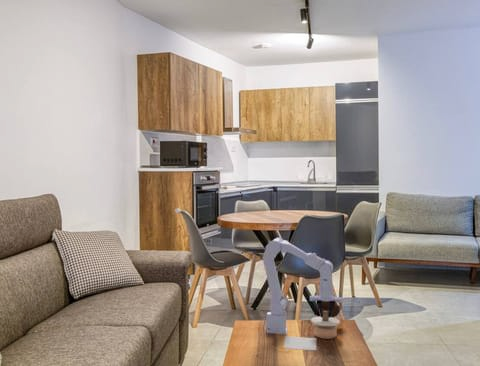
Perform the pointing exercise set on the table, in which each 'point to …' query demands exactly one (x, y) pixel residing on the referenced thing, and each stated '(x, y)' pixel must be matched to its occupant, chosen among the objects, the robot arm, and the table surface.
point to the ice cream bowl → (335, 309)
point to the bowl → (325, 331)
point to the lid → (325, 320)
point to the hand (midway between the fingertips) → (325, 316)
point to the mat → (300, 343)
